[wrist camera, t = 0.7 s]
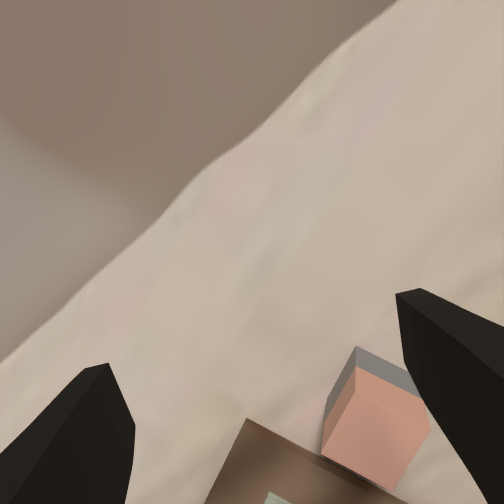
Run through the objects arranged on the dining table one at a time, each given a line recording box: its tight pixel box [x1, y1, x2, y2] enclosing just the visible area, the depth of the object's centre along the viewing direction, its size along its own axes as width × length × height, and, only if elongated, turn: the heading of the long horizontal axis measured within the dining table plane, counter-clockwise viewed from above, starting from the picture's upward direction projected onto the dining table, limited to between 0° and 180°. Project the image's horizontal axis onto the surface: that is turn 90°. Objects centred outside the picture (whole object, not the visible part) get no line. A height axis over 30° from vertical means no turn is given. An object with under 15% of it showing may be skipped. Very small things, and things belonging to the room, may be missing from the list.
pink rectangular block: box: [320, 346, 431, 491], centre depth 27 cm, size 4×4×6 cm
